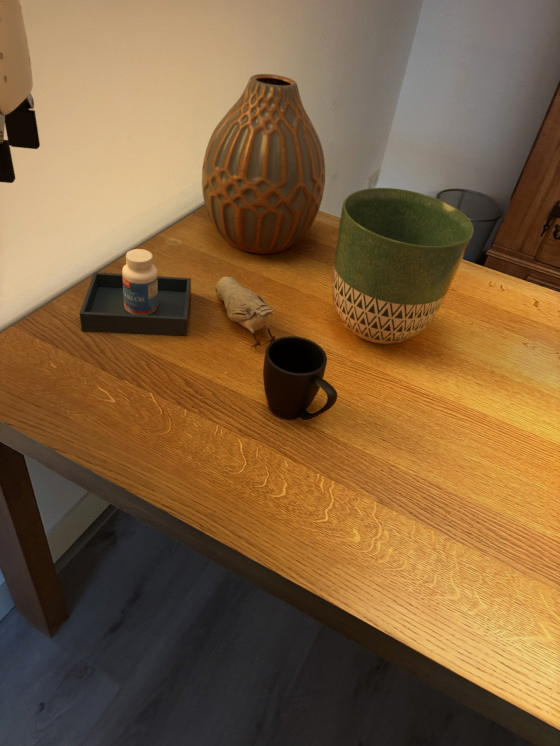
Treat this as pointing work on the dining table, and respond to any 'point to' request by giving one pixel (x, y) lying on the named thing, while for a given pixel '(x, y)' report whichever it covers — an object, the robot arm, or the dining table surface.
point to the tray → (110, 315)
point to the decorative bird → (244, 306)
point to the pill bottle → (140, 283)
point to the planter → (395, 261)
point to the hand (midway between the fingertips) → (12, 162)
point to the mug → (295, 378)
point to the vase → (264, 168)
